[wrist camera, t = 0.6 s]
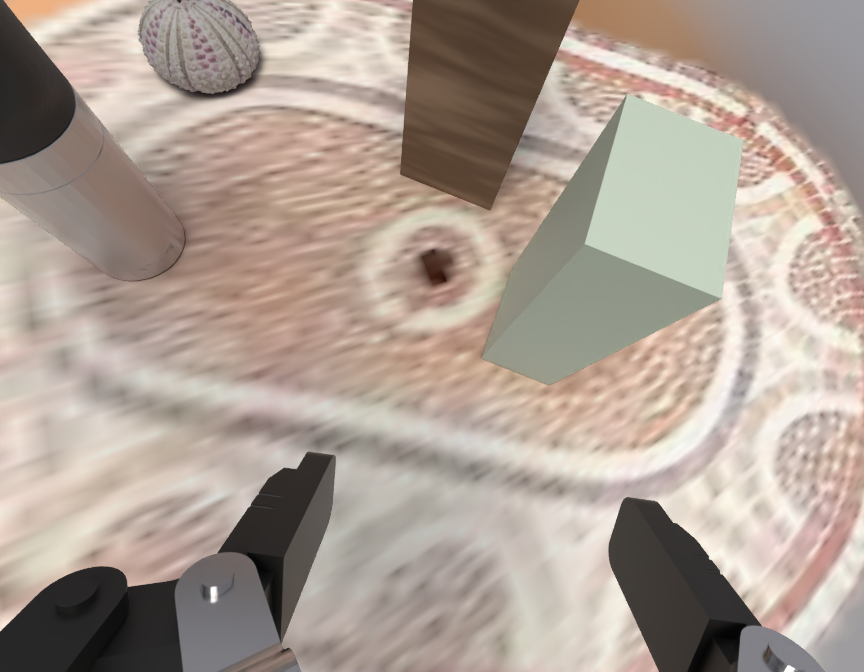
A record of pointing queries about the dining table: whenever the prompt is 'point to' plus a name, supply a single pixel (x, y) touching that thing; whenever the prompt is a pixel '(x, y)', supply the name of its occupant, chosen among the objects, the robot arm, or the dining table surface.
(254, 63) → the sea urchin shell
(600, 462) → the dining table surface
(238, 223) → the dining table surface
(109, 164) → the robot arm
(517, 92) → the walnut pillar
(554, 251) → the sage pedestal
